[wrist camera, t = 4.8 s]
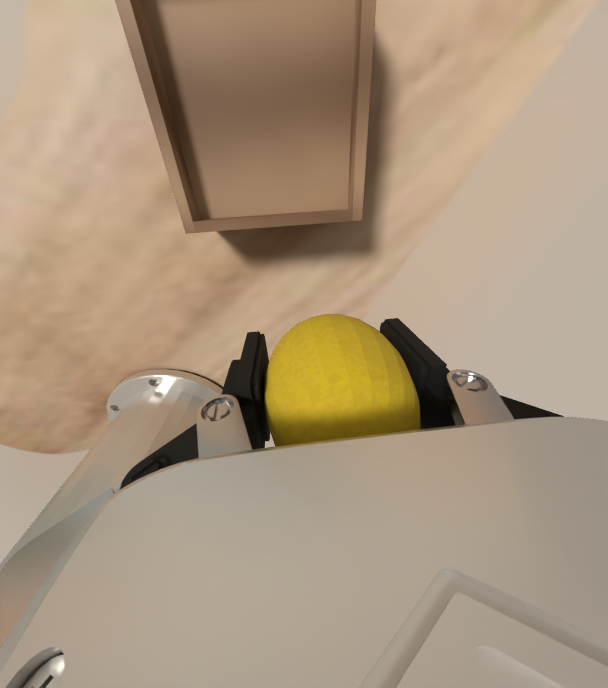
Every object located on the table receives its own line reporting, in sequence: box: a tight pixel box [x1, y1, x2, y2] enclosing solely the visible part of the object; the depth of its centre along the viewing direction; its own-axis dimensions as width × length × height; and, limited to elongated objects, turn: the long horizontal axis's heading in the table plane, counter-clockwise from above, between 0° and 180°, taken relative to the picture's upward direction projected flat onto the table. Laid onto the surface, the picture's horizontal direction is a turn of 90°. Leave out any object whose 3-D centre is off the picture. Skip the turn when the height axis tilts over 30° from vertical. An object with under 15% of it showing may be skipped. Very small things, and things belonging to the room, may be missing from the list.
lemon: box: [264, 314, 421, 447], centre depth 9 cm, size 6×6×8 cm
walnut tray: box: [115, 0, 376, 233], centre depth 11 cm, size 9×9×4 cm
